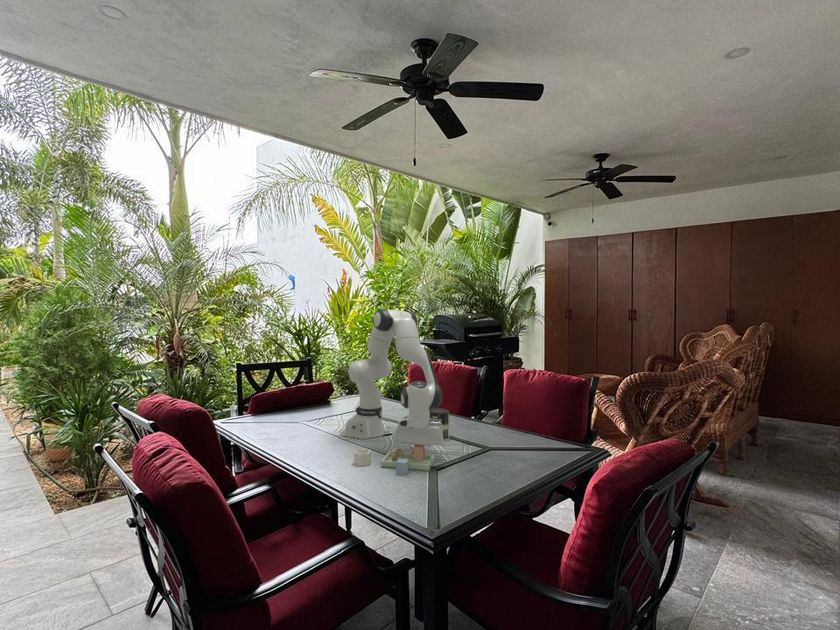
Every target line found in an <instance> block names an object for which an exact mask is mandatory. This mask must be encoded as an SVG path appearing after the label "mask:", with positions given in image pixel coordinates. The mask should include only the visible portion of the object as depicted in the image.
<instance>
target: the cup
mask: <svg viewBox="0 0 840 630" xmlns="http://www.w3.org/2000/svg"><path fill="white" fill-rule="evenodd" d="M353 453H354V454H353V457H354V458H353V459H354V462H353V463H354V465H355V466H356V467H366V466H370V465H371V464H372V450H370V449H369V448H360V449H355V451H354V452H353Z"/></svg>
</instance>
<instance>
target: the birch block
mask: <svg viewBox="0 0 840 630" xmlns="http://www.w3.org/2000/svg"><path fill="white" fill-rule="evenodd" d="M391 452H392V461H395V462H397V461H398V459H404V453H405V452H404V448H396V447H395V448H393V450H391Z"/></svg>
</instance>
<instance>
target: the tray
mask: <svg viewBox="0 0 840 630" xmlns="http://www.w3.org/2000/svg"><path fill="white" fill-rule="evenodd" d="M404 459H408V471H421V472H430V470H431V468H432V466H433V464H434V462H435V454H427V455H425V457H424V459H423V460H417V459H413V454H411V452H404ZM380 468H385V469H396V462H395V461H392V451H388V452H387V454H385V456H384V457H383V458H382V459H381V461H380Z"/></svg>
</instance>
